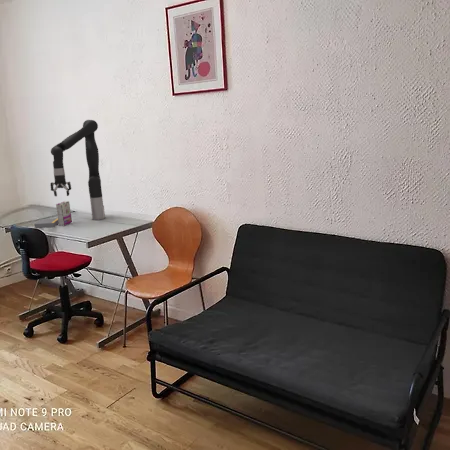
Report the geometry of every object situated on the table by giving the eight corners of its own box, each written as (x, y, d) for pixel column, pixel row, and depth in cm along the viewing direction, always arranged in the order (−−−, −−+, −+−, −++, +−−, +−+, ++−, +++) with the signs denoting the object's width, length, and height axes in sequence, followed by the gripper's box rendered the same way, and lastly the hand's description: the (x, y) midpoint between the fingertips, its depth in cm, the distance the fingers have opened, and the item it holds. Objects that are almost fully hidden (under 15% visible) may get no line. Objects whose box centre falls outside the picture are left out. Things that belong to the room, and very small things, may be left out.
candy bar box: (66, 222, 354) (63, 201, 350) (72, 222, 353) (69, 201, 349) (58, 225, 343) (55, 204, 339) (64, 225, 342) (61, 204, 338)
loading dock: (60, 222, 355) (59, 217, 354) (54, 227, 340) (53, 222, 339) (41, 223, 354) (41, 218, 354) (34, 228, 339) (34, 223, 338)
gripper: (70, 173, 343) (73, 194, 347) (51, 174, 342) (53, 195, 346) (67, 174, 336) (70, 196, 340) (47, 175, 335) (50, 197, 339)
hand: (61, 196), depth 343 cm, fingers open, 8 cm apart
